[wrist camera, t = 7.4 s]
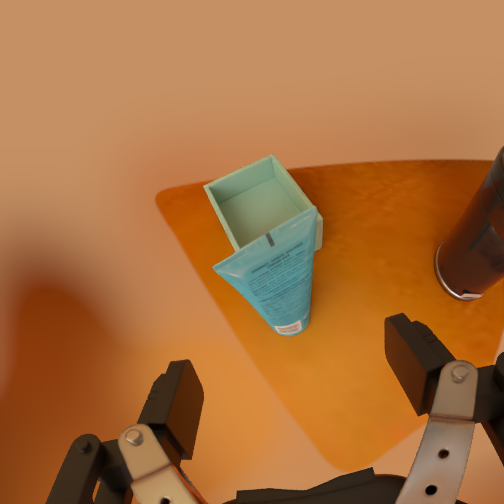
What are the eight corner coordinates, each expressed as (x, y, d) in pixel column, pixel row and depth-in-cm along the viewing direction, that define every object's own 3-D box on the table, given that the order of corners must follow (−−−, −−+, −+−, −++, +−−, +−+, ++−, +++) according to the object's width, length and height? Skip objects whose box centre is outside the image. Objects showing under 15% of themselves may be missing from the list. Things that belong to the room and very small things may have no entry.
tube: (300, 284, 36) (290, 182, 19) (325, 313, 34) (341, 229, 17) (252, 320, 35) (197, 245, 18) (275, 351, 33) (239, 304, 16)
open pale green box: (278, 186, 44) (273, 153, 37) (321, 248, 38) (323, 218, 32) (217, 215, 43) (203, 186, 37) (251, 284, 37) (240, 260, 31)
